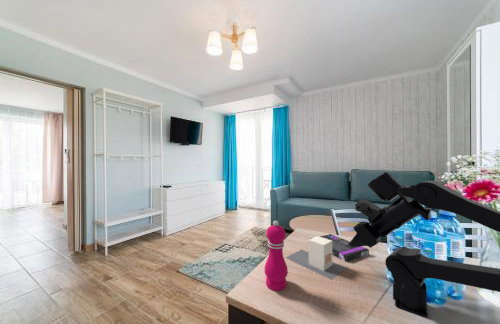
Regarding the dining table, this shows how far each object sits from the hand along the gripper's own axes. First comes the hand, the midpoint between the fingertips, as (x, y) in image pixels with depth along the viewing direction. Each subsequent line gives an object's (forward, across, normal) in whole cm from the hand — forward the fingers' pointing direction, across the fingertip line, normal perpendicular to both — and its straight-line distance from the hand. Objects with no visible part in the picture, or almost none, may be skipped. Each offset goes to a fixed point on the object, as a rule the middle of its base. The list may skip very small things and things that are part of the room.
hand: (355, 242), depth 63 cm
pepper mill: (+20, +21, -2) cm, 29 cm away
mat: (+19, 0, -2) cm, 19 cm away
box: (+20, -18, -1) cm, 27 cm away
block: (+17, 0, 0) cm, 17 cm away
